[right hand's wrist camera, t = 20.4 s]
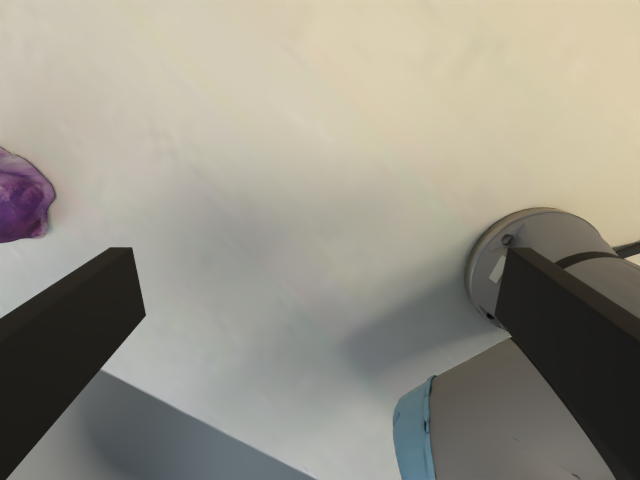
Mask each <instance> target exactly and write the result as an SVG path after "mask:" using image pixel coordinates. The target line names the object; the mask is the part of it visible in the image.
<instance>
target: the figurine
mask: <svg viewBox="0 0 640 480" xmlns="http://www.w3.org/2000/svg"><path fill="white" fill-rule="evenodd" d="M54 196H55V194H54V191H53V187H52V185H51V183H50V182H49V181H48V180H47V179H46V178H45V177H44V176H43V175H42V174H41V173H40V172H39V171H38V170H37V169H36V168H35V167H34V166H33V165H31V164H30V163H29V162H27V161H26V160H25V159H24V158H21V157H19V156H16V155H14V154H10V153H9V152H7V151H5V150H4V149H2V148H1V147H0V243H6V242H12V241H15V240H18V239H24V238H35V239H39V238H43V237H44V236H45V235H46V233H47V230H48V222H47V210H48V207H49V206H50V203H51V202H52V201H53V200H54Z"/></svg>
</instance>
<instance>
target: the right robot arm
mask: <svg viewBox="0 0 640 480" xmlns="http://www.w3.org/2000/svg"><path fill="white" fill-rule="evenodd" d="M639 253H640V244H637V245H634V246H631V247H628V248H625V249H622V250H619V251H616V252H615V251H614V250H613V249H612V248H611V247H610V246H609V245H608V244H607V243H606V242H605V240H604V239H603V238H602V237H601V235H600V234H599V232H598V231H597V230H596V229H595V228H594V227H593V226H592V225H591V224H590V223H588V222H587V221H586V220H584V219H582V218H580V217H578V216H575V215H573V214H570V213H568V212H565V211H563V210H559V209H554V208H532V209H527V210H523V211H520V212H517V213H514V214H512V215H509V216H507V217H506V218H504V219H502V220H500V221H499V222H497V223H496V224H495V225H493V226H492V227H491V228H490V229H488V230H487V231H486V232H485V233H484V234H483V235H482V236H481V238H480V239H479V240H478V241H477V243H476V244H475V246H474V247H473V249H472V251H471V253H470V255H469V258H468V261H467V264H466V268H465V287H466V291H467V294H468V296H469V298H470V300H471V302H472V303H473V305H474V306H475V307H476V308H477V310H478V311H479V312H480V313H481V315H482V316H483V317H484V318H485V319H486V320H488V321H489V322H490V323H492V324H494V325H495V326H498V327H500V328H502V329H504V330H506V331H508V332H509V334H510V335H511V336H512V337H511V338H508V339H506V340H504V341H502V342H501V343H499V344H497V345H495V346H493V347H491V348H489V349H488V350H486V351H484V352H482V353H480V354H478V355H477V356H475V357H473V358H471V359H469V360H467V361H465V362H464V363H462V364H460V365H458V366H456V367H454V368H452V369H450V370H448V371H446V372H444V373H442V374H440V375H438V376H436V375H433V376H431V377H429V378H428V380H427V382H425V383H423V384H422V385H420V386H418V387H417V388H415V389H413V390H412V391H410V392H409V393H407V394H405V395H404V396H403V397H402V398H401V399H400V400H399V401H398V403H397V405H396V407H395V410H394V415H393V439H394V446H395V452H396V457H397V462H398V466H399V470H400V474H401V478H402V480H640V266H638V265H636V264H634V263H632V262H630V261H628V260H625V259H624V258H627V257H630V256H633V255H636V254H639ZM145 316H146V313H145V308H144V303H143V298H142V294H141V289H140V284H139V279H138V274H137V269H136V264H135V259H134V254H133V250H132V247H110V248H109V249H107V250H105V251H104V252H102V253H101V254H99V255H98V256H96V257H95V258H93V259H92V260H90V261H88V262H87V263H85V264H84V265H82V266H81V267H79V268H78V269H76V270H75V271H73V272H71V273H70V274H68V275H67V276H65V277H64V278H62V279H61V280H59V281H58V282H56V283H55V284H53V285H51V286H50V287H48V288H47V289H45V290H44V291H42V292H41V293H39V294H38V295H36V296H34V297H33V298H31V299H30V300H28V301H27V302H25V303H24V304H22V305H21V306H19V307H18V308H16V309H14V310H13V311H11V312H10V313H8V314H7V315H5V316H4V317H2V318H1V319H0V480H6V479H7V478H8V477H9V475H10V474H11V473H12V472H13V471H14V470H15V468H16V467H17V466H18V465H19V464H20V462H21V461H22V460H23V459H24V458H25V457H26V455H27V454H28V453H29V452H30V451H31V450H32V448H33V447H34V446H35V445H36V444H37V443H38V441H39V440H40V439H41V438H42V437H43V436H44V434H45V433H46V432H47V431H48V430H49V428H50V427H51V426H52V425H53V424H54V423H55V421H56V420H57V419H58V418H59V417H60V416H61V414H62V413H63V412H64V411H65V410H66V408H67V407H68V406H69V405H70V404H71V403H72V402H73V400H74V399H75V398H76V397H77V396H78V394H79V393H80V392H81V391H82V390H83V389H84V387H85V386H86V385H87V384H88V383H89V382H90V380H91V379H92V378H93V377H94V376H95V375H96V373H97V372H98V371H99V370H100V369H101V368H102V366H103V365H104V364H105V363H106V362H107V361H108V359H109V358H110V357H111V356H112V355H113V353H114V352H115V351H116V350H117V349H118V348H119V346H120V345H121V344H122V343H123V342H124V341H125V339H126V338H127V337H128V336H129V335H130V334H131V332H132V331H133V330H134V329H135V328H136V327H137V325H138V324H139V323H140V322H141V321H142V319H143V318H144V317H145Z"/></svg>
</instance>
